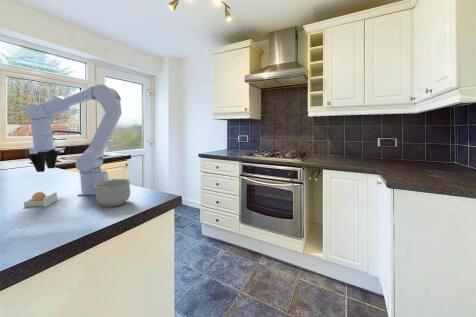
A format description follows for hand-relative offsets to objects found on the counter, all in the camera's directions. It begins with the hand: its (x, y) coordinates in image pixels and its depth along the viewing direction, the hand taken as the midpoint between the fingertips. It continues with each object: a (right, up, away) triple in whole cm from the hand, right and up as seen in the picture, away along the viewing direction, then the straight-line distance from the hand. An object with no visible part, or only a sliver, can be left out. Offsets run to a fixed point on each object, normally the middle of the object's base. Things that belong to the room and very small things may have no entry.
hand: (46, 169), depth 86 cm
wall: (+10, -11, -10) cm, 18 cm away
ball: (+6, -9, -10) cm, 15 cm away
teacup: (+32, -12, -8) cm, 35 cm away
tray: (+6, -11, -10) cm, 16 cm away
